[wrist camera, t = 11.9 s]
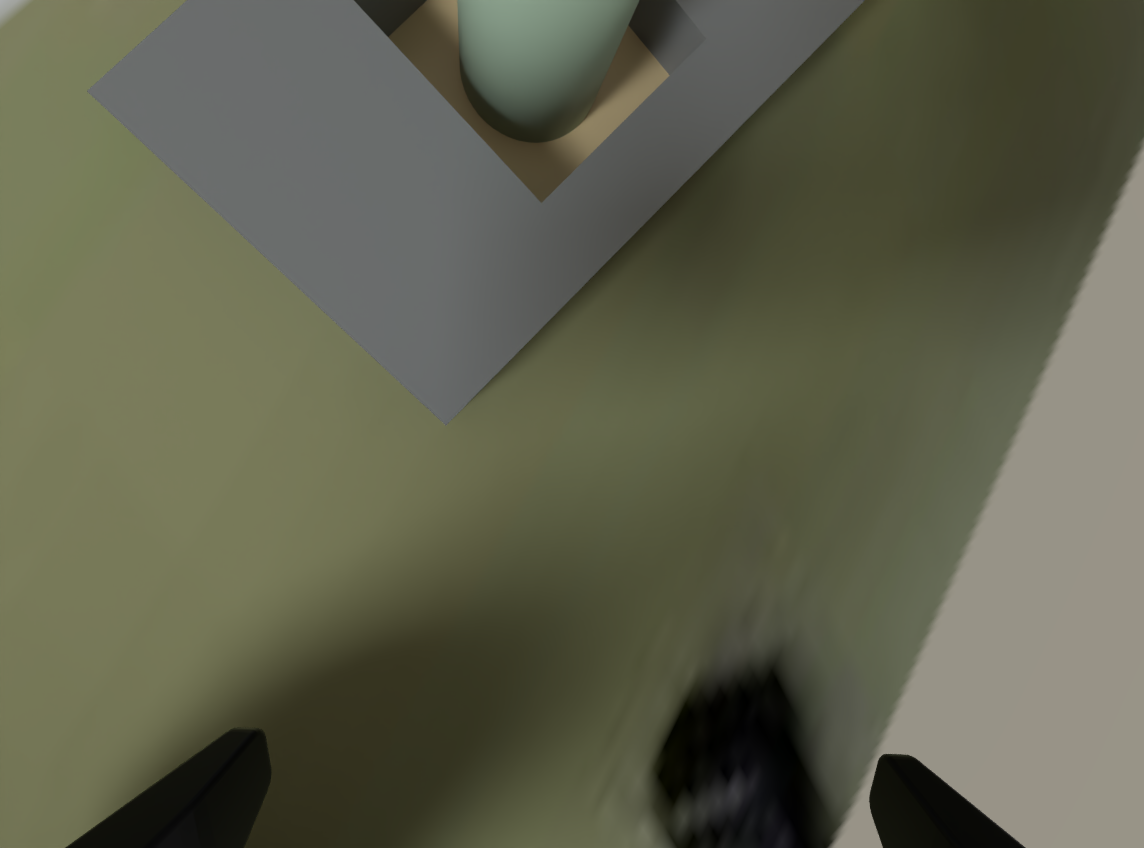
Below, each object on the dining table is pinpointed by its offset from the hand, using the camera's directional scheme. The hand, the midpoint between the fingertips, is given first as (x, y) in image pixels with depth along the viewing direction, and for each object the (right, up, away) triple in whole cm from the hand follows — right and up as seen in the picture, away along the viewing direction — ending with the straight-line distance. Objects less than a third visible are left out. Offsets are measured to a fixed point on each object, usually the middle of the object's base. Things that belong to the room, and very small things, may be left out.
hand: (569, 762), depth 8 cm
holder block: (-1, +17, +10) cm, 20 cm away
